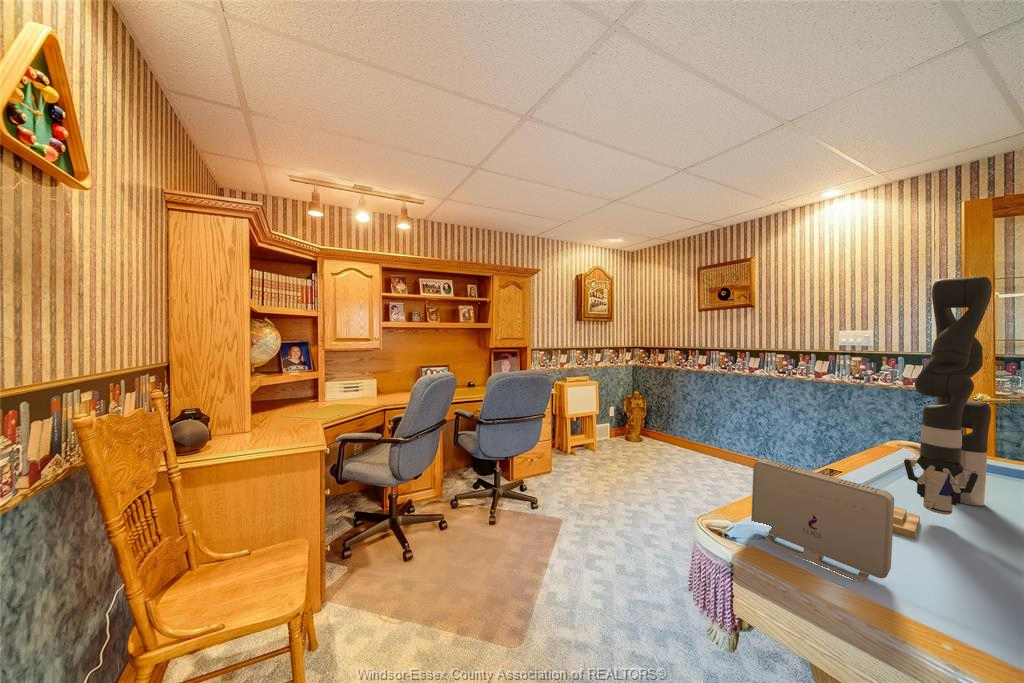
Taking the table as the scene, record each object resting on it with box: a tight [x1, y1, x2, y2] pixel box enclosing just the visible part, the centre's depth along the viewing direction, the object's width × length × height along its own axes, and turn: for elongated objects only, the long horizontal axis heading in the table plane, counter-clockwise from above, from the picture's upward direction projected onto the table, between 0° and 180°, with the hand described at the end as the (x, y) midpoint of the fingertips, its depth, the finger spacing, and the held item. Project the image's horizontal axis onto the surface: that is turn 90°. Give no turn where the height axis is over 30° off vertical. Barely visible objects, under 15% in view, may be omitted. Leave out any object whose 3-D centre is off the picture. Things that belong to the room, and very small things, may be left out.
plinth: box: [893, 506, 921, 540], centre depth 104 cm, size 14×14×4 cm
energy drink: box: [922, 470, 954, 516], centre depth 102 cm, size 5×5×12 cm
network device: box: [750, 458, 895, 582], centre depth 87 cm, size 26×9×20 cm, turn 36°
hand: (937, 499), depth 102 cm, fingers closed on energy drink, 5 cm apart
